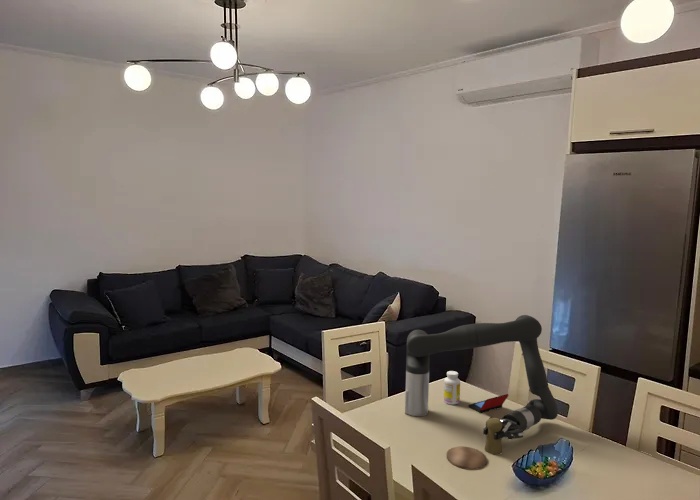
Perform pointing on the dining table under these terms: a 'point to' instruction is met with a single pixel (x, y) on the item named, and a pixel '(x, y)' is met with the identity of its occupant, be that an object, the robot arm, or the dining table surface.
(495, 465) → the dining table surface
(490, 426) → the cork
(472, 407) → the handheld game console
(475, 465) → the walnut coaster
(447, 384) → the supplement bottle
